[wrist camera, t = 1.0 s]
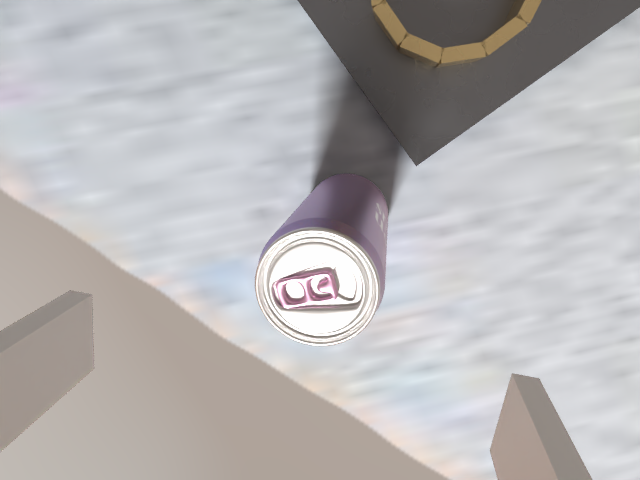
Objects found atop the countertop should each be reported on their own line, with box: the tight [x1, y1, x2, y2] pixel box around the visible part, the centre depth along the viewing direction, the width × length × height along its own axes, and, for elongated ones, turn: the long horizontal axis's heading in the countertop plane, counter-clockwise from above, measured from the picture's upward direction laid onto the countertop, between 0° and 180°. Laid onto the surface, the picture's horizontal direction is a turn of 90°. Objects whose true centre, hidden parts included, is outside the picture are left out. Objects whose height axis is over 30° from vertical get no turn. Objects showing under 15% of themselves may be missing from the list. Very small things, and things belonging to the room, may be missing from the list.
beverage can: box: [255, 174, 388, 346], centre depth 28 cm, size 6×6×15 cm
